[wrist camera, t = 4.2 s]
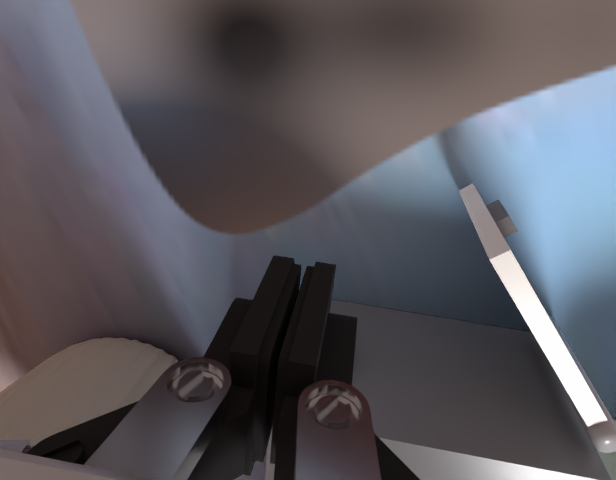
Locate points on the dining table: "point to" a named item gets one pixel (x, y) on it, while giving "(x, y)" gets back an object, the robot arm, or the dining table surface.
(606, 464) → the can
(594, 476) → the block
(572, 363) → the side door
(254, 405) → the robot arm
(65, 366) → the canister
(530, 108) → the dining table surface
